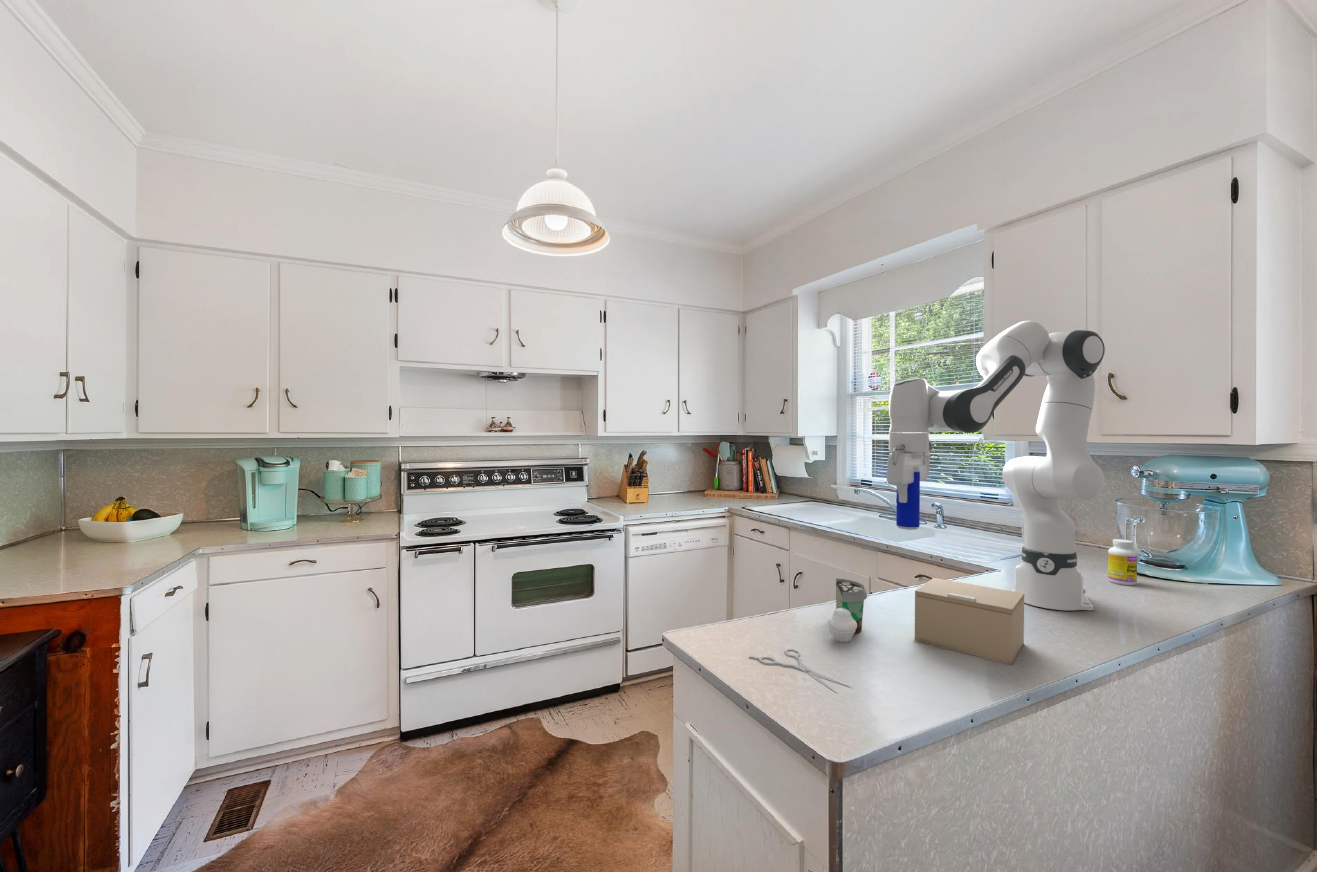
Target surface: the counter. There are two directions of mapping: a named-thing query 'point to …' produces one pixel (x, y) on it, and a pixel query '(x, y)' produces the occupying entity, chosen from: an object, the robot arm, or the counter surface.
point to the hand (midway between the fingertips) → (908, 500)
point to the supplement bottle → (1122, 563)
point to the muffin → (842, 625)
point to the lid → (971, 595)
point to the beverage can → (910, 506)
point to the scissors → (797, 667)
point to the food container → (851, 599)
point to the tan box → (970, 629)
